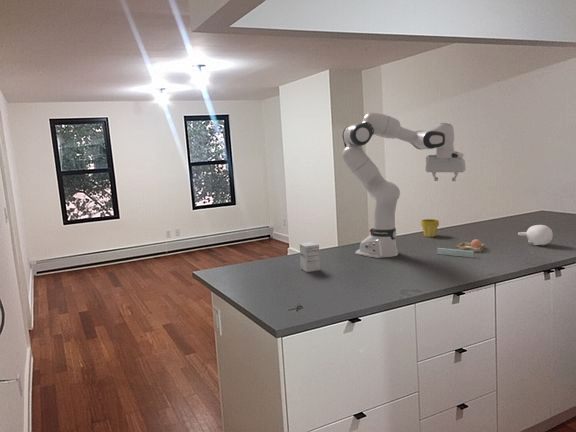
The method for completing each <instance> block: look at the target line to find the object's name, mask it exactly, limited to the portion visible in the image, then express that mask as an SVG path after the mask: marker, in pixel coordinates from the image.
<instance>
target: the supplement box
mask: <svg viewBox="0 0 576 432" xmlns="http://www.w3.org/2000/svg"><path fill="white" fill-rule="evenodd" d="M299 258H300V260H299V261H300V262H299V263H300V269H301V270H303V271H304V272H306V273H309V272H317V271H320V270H321V268H320V266H321V265H320V263H321V262H320V245H319V244H318V243H315V242H313V241H310V242H309V241H308V242H302V243H299Z"/></svg>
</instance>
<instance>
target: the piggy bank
mask: <svg viewBox="0 0 576 432" xmlns="http://www.w3.org/2000/svg"><path fill="white" fill-rule="evenodd" d="M517 235H518V236H521V237H522V236H525V237H526V238H527V240H528V241H527V242H528V243H531V244H533V246H534V245H542V246H545V245H548V244H550V243H551V241H552V239H553V235H554V234H553V230H552V228H550V227H549V226H547V225H545V224H536V225H535V224H534V225H532V226H530V227H528V229H526V231H522V232H518V233H517Z"/></svg>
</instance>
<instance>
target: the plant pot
mask: <svg viewBox="0 0 576 432" xmlns="http://www.w3.org/2000/svg"><path fill="white" fill-rule="evenodd" d="M439 224H440V221H439V219H433V218H429V219H428V218H426V219H425V218H424V219H421V220H420V226H421V227H422V231H423V235H424V237H426V238H434V237H436V235H437V230H438V227H439Z"/></svg>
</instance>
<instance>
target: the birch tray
mask: <svg viewBox="0 0 576 432" xmlns="http://www.w3.org/2000/svg"><path fill="white" fill-rule="evenodd" d="M485 248H486V243H481V246H480V247H479V248H473V247H472V246H471V242H466V241H465V242H461V243H459V244H458V245H456V246H455V250H465V251H474V253H477V254H478V253H479V254H480V253H481V252H482V251H483V250H485Z"/></svg>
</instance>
